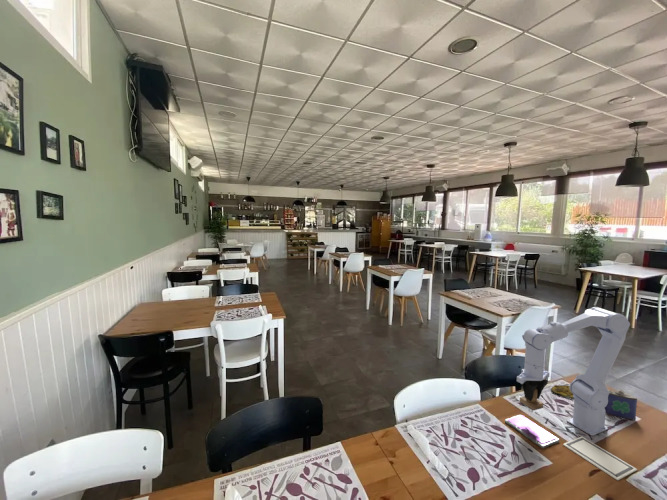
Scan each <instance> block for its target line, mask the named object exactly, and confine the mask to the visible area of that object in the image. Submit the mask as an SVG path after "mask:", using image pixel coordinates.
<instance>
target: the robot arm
mask: <svg viewBox="0 0 667 500" xmlns="http://www.w3.org/2000/svg"><path fill="white" fill-rule="evenodd" d="M591 326H592V327H594V328H597V329H598V331H599V332H600V334H601V339H600V340H599V342H598V345H597V347H596V349H595V351H594V354H593V355H592V357H591V359H590V362H589V364H588V366H587V368H586V370H585V373H581V374H577V375H576V376H575V378H574V380H572V381H571V382H570V384H569V386H570V391H571V392H572V393H573V397H574V399H573V412H572V418H569V419H566V422H567V423H568V424H570V425H573V426H574V427H576V428H577V429H579V430H581V431H583V432H585V433H586V434H588V435H590V436H595V435H597V434H600V433H602V432H605V431H607V430H608V427H606V426H605V424H606V415H607V414H606V411H605V407H606V406H607V404H608V395H609V391H608V390H609V389H608V387H607V385H606V384H605V382H606V381H607V378H608V377H609V374H610V373H611V370H612V368H613V366H614V363H615V362H616V360H617V358H618V355H619V353H620V351H621V349H622V348H623V345H624V342H625V341H626V338H627V337H626V336H627V332H628V330H629V328H630V326H631V322H629V319H628V318H627V317H626V316H625V315H623V314H622V313H618V312H614V311H611V310H607V309H605V308H601V307H600V306H599V307H598V306H593V307H590V308H588V309H585V310H584V313H581V314H579V315H577V316H575V317H573V318H570V319H568V320H566V321H564V322H558V321H550V322H549V324H547V325H544V326H541V327H540V326H539V327H537V328H536V329H535V328H529V329H527V330H526V331H525V330H524V334H522V336H521V337H522V340H523V341H524V346H525V353H524V366H523V367H524V368H522V369H521V373H520V374H519V375H517V376H516V382H517V383H518V384H519V383H520V385H521V387H522V390H523V394H524V396H525V398H526V399H528V400H530V401H532V399H533V394H534V390H535V388H536V389H537V390H538V392H537V400H539V399H540V397H541V394H542V392H543V390H544V388H545V387H547V385H548V382H549V381H548V380H546V379H545V378H550V374H551V373H550V371H548V370H545V358H546V356H545V354H546V350H547V349H548V348H549V347H550V345H551V344H552V343H554V342H557V341H559V340H560V341H561V340H562V339H565V338H568V336H569V333H571V332H575V331H577V330H581V329H584V328H588V327H591Z"/></svg>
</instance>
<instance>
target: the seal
mask: <svg viewBox="0 0 667 500" xmlns="http://www.w3.org/2000/svg"><path fill="white" fill-rule="evenodd" d="M550 391H551V394H552V393H553V394H555V395H557V396H559V397H562V398H566V399H569V400H571V399H572V400H574V397H573V393H572V392H571V391H570V385H565V384H564V385H562V384H561V385H560V384H559V385H553V386H552V387H551V389H550Z"/></svg>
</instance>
